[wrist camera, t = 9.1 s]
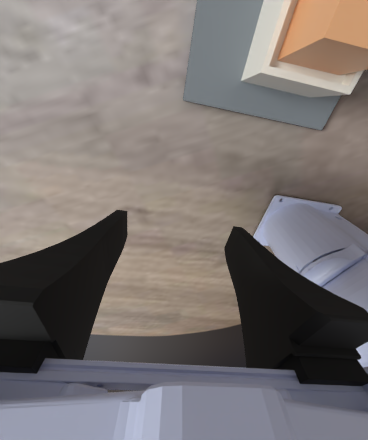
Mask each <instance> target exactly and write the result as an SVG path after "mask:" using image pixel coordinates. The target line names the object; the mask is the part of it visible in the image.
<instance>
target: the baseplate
mask: <svg viewBox="0 0 368 440" xmlns="http://www.w3.org/2000/svg"><path fill="white" fill-rule="evenodd" d="M263 1H264V0H197V5H196V12H195V19H194V26H193V33H192V40H191V47H190V54H189V61H188V68H187V75H186V82H185V89H184V96H183V100H184V101H188V102H193V103H197V104H202V105H207V106H211V107H216V108H220V109H225V110H229V111H234V112H239V113H243V114H248V115H252V116H257V117H262V118H266V119H271V120H275V121H280V122H285V123H289V124H294V125H298V126H303V127H308V128H312V129H317V130H322V129H323V127H324V125H325V123H326V122H327V120H328V118H329V116H330V114H331V113H332V111H333V109H334V107H335V105H336V104H337V102H338V100H339V98H340V96H341V95H338V96H325V97H311V98H310V97H306V96H301V95H297V94H293V93H289V92H285V91H280V90H276V89H272V88H268V87H264V86H259V85H255V84H251V83H247V82H243V81H241V79H242V75H243V72H244V68H245V65H246V61H247V58H248V54H249V51H250V47H251V44H252V40H253V36H254V33H255V29H256V26H257V22H258V19H259V15H260V12H261V8H262V5H263Z"/></svg>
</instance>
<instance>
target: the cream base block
mask: <svg viewBox="0 0 368 440" xmlns="http://www.w3.org/2000/svg"><path fill="white" fill-rule="evenodd" d="M297 1H298V0H264V1H263V5H262V8H261V12H260V15H259V19H258V22H257V26H256V29H255V33H254V36H253V40H252V44H251V47H250V51H249V54H248V58H247V61H246V65H245V68H244V72H243V75H242V79H241V81H243V82H247V83H251V84H255V85H259V86H264V87H268V88H272V89H276V90H280V91H285V92H289V93H293V94H297V95H301V96H306V97H310V98H311V97H325V96H338V95H350V94H351V92H352V90H353V89H354V87H355V85H356V83H357V82H358V80H359V78H360V76H361V75H362V73H363V71H364V70H362V71H357V72H352V73H347V74H342V75H336V74H331V73H327V72H323V71H319V70H315V69H311V68H307V67H302V66H298V65H294V64H290V63H286V62H282V61H277V59H278V56H279V53H280V50H281V47H282V44H283V41H284V39H285V36H286V33H287V30H288V27H289V24H290V21H291V18H292V15H293V13H294V10H295V7H296V4H297Z"/></svg>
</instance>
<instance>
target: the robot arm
mask: <svg viewBox="0 0 368 440" xmlns="http://www.w3.org/2000/svg"><path fill="white" fill-rule="evenodd" d="M280 199H282V200H281V201H279V200H280ZM330 207H331V208H330ZM341 209H342V207H341V206H339V205H335V204H329V203H323V202H317V201H311V200H305V199H299V198H293V197H287V196H281V195H276V196H274V197H273V199H272V201H271V203H270V205H269V207H268V209H267V210H266V212H265V214H264V216H263V218H262V220H261V222H260V224H259V226H258V228H257V230H256V232H255V234H254V236H251V235H250V234H249V233H248V232H247V231H246V230H245V229H243V228H242V227H235V226H233V229H232V231H231V234H230V236H229V238H228V241H227V243H226V246H225V256H226V262H227V265H228V269H229V272H230V275H231V279H232V282H233V285H234V289H235V292H236V296H237V301H238V307H239V312H240V318H241V325H242V332H243V339H244V346H245V357H246V366H247V367H246V368H238V367H217V366H197V365H176V364H154V363H133V362H114V361H92V360H83V358H84V354H85V351H86V347H87V344H88V340H89V337H90V334H91V331H92V328H93V324H94V321H95V318H96V315H97V312H98V309H99V306H100V303H101V300H102V297H103V294H104V291H105V288H106V285H107V283H108V281H109V278H110V276H111V274H112V272H113V270H114V267H115V265H116V263H117V261H118V259H119V257H120V255H121V253H122V250H123V248H124V245H125V242H126V238H127V211H122V210H116V211H115V212H113V213H112V214H110V215H109V216H107V217H106V218H104V219H103V220H101V221H100V222H98V223H97V224H95V225H93V226H92V227H90V228H88V229H87V230H85V231H83V232H81V233H79V234H78V235H76V236H74V237H72V238H69V239H67V240H65V241H63V242H61V243H58V244H56V245H53V246H51V247H48V248H46V249H43V250H40V251H38V252H35V253H32V254H29V255H26V256H23V257H19V258H16V259H13V260H10V261H6V262H2V263H0V440H368V234H367V233H365V232H364V231H362V230H361V229H359V228H358V227H356V226H355V225H353V224H352V223H350V222H349V221H348V220H346V219H345V218H343V217H342V216H340V215H339V214H338V213H339V212H340V211H341ZM262 245H265V246H270V248H271V249H272V251H273V252H274V254H275V255H276V257H275V256H274V255H273V254H272V253H271V252H269V251H268V250H267V249H266V248H265V247H264V246H262ZM107 390H134V391H128V392H115V393H114V392H113V393H108V392H107Z"/></svg>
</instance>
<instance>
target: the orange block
mask: <svg viewBox="0 0 368 440" xmlns="http://www.w3.org/2000/svg"><path fill="white" fill-rule="evenodd" d="M277 61H282V62H286V63H290V64H294V65H298V66H302V67H307V68H311V69H315V70H319V71H323V72H327V73H331V74H336V75H342V74H347V73H352V72H357V71H362V70H367V69H368V0H298V1H297V4H296V7H295V10H294V13H293V15H292V18H291V21H290V24H289V27H288V30H287V33H286V36H285V39H284V41H283V44H282V47H281V50H280V53H279V56H278V59H277Z"/></svg>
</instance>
